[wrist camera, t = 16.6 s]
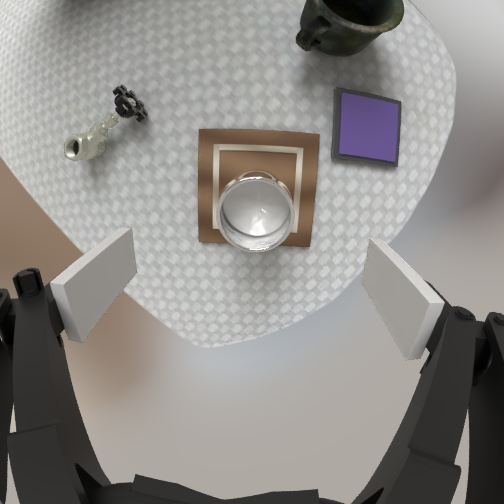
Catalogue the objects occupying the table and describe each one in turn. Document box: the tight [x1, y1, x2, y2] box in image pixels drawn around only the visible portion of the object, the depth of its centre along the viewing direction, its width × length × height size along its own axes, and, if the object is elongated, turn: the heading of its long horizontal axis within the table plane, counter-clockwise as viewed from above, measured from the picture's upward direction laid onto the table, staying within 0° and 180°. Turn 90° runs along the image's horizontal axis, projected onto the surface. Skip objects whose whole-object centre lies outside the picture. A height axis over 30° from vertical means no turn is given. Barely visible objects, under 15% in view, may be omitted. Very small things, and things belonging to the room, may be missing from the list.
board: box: [198, 129, 320, 247], centre depth 37 cm, size 16×16×1 cm
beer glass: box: [216, 166, 295, 253], centre depth 30 cm, size 7×7×15 cm
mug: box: [296, 0, 404, 56], centre depth 23 cm, size 11×15×12 cm
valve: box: [64, 85, 148, 161], centre depth 32 cm, size 7×7×12 cm
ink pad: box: [331, 87, 401, 167], centre depth 33 cm, size 10×10×2 cm
